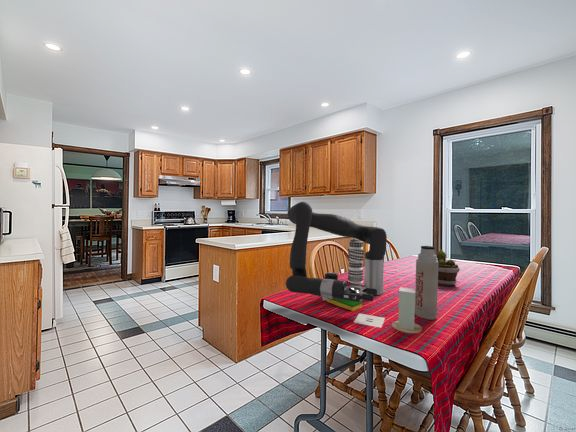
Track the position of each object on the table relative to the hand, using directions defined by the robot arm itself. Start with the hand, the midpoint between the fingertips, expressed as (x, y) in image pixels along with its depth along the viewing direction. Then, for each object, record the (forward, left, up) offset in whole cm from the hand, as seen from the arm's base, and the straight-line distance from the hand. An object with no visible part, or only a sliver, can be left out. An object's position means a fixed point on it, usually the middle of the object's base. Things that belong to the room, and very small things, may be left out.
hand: (375, 295), depth 107 cm
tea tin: (0, +11, -10) cm, 15 cm away
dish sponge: (-12, -15, -10) cm, 22 cm away
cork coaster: (0, +11, -10) cm, 15 cm away
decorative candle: (-54, -20, -10) cm, 58 cm away
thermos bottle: (-16, +17, -10) cm, 25 cm away
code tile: (0, -2, -10) cm, 10 cm away
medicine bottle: (-18, -23, -10) cm, 31 cm away
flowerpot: (-74, +26, -10) cm, 79 cm away
